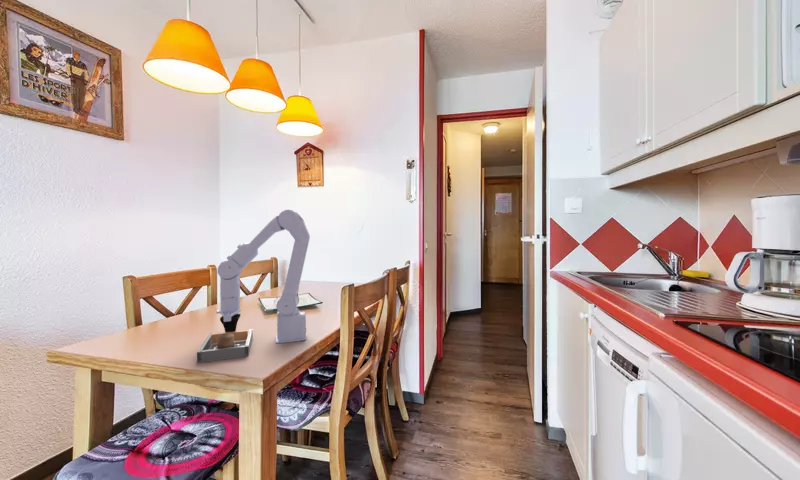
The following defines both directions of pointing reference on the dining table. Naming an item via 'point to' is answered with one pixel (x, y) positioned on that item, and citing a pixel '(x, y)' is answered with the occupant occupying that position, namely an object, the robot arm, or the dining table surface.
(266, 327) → the dining table surface
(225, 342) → the brown rounded block
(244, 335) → the gate
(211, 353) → the housing
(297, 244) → the robot arm
